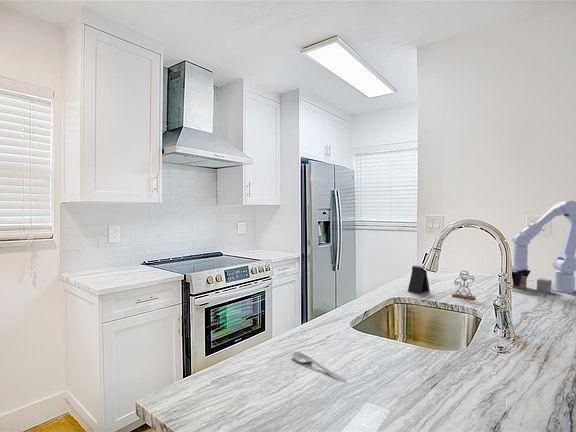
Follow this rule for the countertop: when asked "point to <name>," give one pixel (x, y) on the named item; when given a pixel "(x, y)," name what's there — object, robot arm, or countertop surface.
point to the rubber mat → (524, 292)
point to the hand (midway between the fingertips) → (519, 285)
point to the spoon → (299, 356)
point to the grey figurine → (464, 289)
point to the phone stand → (418, 280)
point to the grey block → (544, 285)
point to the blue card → (523, 289)
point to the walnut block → (522, 283)
